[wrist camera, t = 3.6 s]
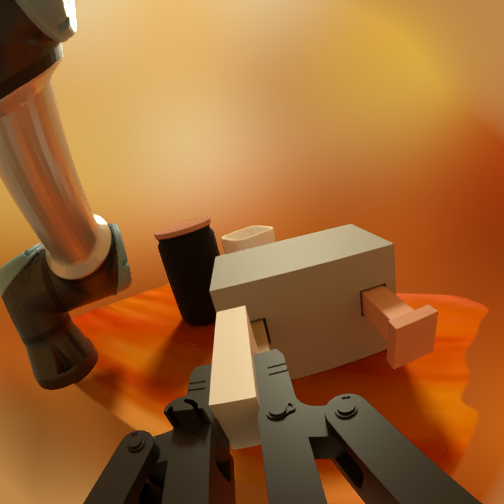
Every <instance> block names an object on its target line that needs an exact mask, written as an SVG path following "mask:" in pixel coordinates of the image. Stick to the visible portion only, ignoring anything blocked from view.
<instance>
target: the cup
mask: <svg viewBox="0 0 504 504" xmlns="http://www.w3.org/2000/svg"><path fill="white" fill-rule="evenodd" d="M221 240H222V244H223V248H224V251H225V254H229V253H233V252H237V251H241V250H245V249H249V248H254V247H258V246H262V245H266V244H270V243H274V242H276V239H275V234H274V230H273V227H268V226H251V227H247V228H244V229H241V230H238V231H235V232H233V233H230V234H227V235H224V236H223V237H222V238H221Z"/></svg>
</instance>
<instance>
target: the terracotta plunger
mask: <svg viewBox="0 0 504 504" xmlns="http://www.w3.org/2000/svg"><path fill="white" fill-rule="evenodd" d="M360 300H361V312H362V313H363V314H364V315H365V316H366V318H367V319H368V320H369V321H370V322H371V323H372V324H373V325H374V327H375V328H376V329H377V330H378V331H379V332H380V333H381V335H382V336H383V337H384V338H385V339H386V340H387V360H386V361H387V362H388V363H389V364H390V366H391V367H392V368H393V370H394V369H396V368H398V367H401V366H403V365H405V364H407V363H409V362H412V361H414V360H416V359H418V358H420V357H422V356H424V355H426V354H428V353H430V352H432V351H433V346H434V339H435V332H436V324H437V316H438V311H437V310H436V309H434V308H433V307H432V306H430V305H429V304H428V305H426V306H423V307H421V308H419V309H416V310H413V309H412V308H411V307H410V306H408V305H407V304H406V303H405V302H403V301H402V300H401V299H400V298H399V297H397V296H396V295H395V294H394V293H392V292H391V291H390V290H389V289H387V288H386V287H385V286H383V285H382V284H381V285H378V286H375V287H372V288H368V289H365V290H362V291H360Z"/></svg>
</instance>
